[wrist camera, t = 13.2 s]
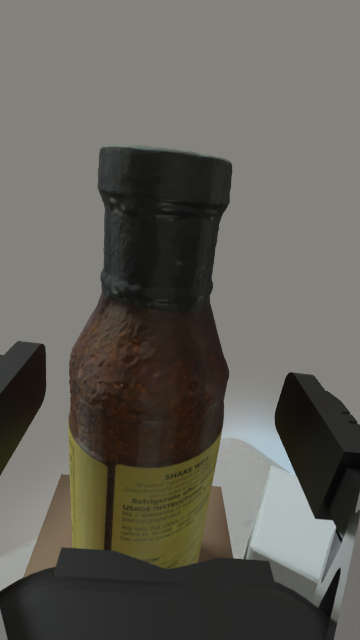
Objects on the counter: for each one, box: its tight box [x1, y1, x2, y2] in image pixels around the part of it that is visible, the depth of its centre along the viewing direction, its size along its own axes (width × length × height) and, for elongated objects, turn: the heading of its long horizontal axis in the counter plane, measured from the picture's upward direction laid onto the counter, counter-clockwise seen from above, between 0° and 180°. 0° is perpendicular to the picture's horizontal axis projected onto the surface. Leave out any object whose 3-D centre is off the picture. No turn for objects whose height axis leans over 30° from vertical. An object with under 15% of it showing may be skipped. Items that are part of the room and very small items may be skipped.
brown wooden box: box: [23, 475, 233, 578], centre depth 20 cm, size 11×11×12 cm
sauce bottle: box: [68, 145, 232, 569], centre depth 14 cm, size 7×6×20 cm
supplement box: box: [241, 466, 336, 602], centre depth 23 cm, size 7×7×13 cm
